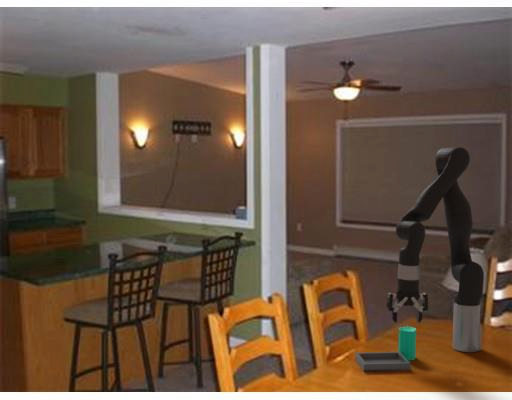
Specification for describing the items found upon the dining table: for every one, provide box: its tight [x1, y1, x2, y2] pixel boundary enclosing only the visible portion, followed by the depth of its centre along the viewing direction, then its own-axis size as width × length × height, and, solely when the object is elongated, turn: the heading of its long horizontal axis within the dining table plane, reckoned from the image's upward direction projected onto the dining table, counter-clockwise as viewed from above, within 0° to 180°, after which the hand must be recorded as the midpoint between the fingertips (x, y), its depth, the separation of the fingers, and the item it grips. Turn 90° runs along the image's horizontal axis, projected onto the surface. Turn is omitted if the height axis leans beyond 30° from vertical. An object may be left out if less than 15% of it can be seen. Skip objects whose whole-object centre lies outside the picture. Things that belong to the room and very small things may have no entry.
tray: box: [354, 351, 412, 373], centre depth 215 cm, size 16×12×2 cm
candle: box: [397, 324, 417, 361], centre depth 222 cm, size 6×6×12 cm
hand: (406, 322), depth 222 cm, fingers open, 8 cm apart
